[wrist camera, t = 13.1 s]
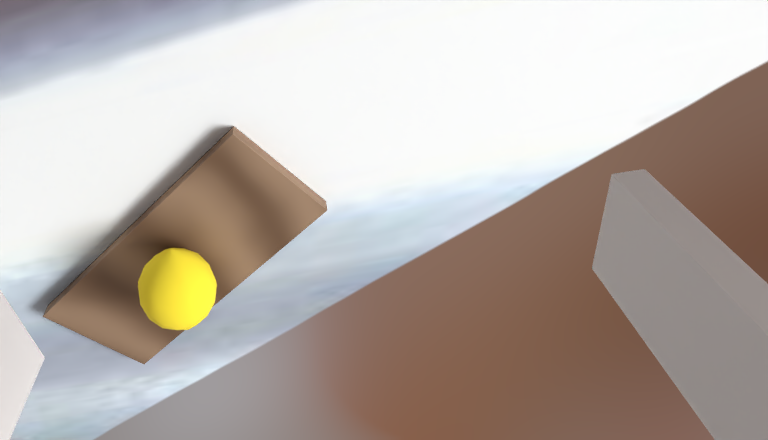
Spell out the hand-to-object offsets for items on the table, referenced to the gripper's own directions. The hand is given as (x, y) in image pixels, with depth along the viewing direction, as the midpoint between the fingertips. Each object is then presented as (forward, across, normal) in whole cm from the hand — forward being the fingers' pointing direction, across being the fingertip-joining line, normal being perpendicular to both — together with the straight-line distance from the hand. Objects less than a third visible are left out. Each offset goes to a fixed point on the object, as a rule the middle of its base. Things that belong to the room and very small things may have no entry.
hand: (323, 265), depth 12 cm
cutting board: (+26, -12, -19) cm, 34 cm away
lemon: (+25, -12, -19) cm, 34 cm away
